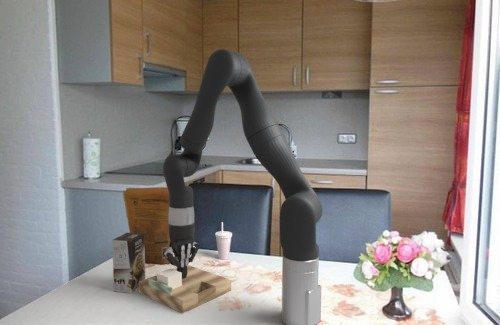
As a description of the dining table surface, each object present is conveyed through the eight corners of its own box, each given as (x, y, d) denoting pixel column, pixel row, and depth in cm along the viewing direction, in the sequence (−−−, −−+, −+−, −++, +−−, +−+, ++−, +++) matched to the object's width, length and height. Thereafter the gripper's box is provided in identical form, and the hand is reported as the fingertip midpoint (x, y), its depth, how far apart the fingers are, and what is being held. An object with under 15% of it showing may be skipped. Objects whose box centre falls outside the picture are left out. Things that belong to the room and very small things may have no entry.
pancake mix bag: (173, 267, 143) (172, 188, 140) (123, 263, 146) (121, 187, 143) (180, 260, 149) (179, 185, 147) (132, 257, 153) (130, 184, 150)
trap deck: (230, 290, 123) (230, 273, 122) (182, 313, 108) (182, 293, 108) (186, 274, 136) (186, 258, 135) (138, 292, 121) (138, 275, 121)
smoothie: (212, 256, 154) (212, 220, 152) (228, 254, 156) (228, 219, 155) (218, 262, 148) (218, 224, 147) (234, 259, 151) (234, 223, 149)
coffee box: (132, 293, 121) (131, 240, 119) (112, 291, 122) (111, 239, 120) (146, 281, 130) (145, 232, 128) (127, 280, 131) (126, 231, 129)
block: (181, 285, 118) (181, 272, 117) (168, 291, 114) (167, 277, 114) (170, 281, 121) (170, 268, 121) (157, 286, 117) (156, 273, 117)
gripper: (171, 227, 112) (173, 288, 114) (206, 219, 122) (207, 274, 124) (155, 223, 117) (156, 281, 118) (190, 215, 127) (190, 268, 128)
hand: (182, 277), depth 121 cm, fingers closed
